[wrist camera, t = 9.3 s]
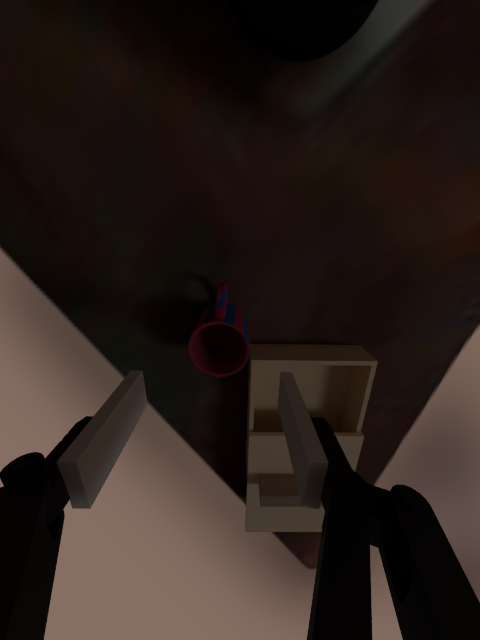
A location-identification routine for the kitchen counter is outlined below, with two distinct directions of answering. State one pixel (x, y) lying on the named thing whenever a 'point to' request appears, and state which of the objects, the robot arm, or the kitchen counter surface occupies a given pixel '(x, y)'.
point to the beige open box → (310, 384)
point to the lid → (283, 484)
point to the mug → (220, 338)
